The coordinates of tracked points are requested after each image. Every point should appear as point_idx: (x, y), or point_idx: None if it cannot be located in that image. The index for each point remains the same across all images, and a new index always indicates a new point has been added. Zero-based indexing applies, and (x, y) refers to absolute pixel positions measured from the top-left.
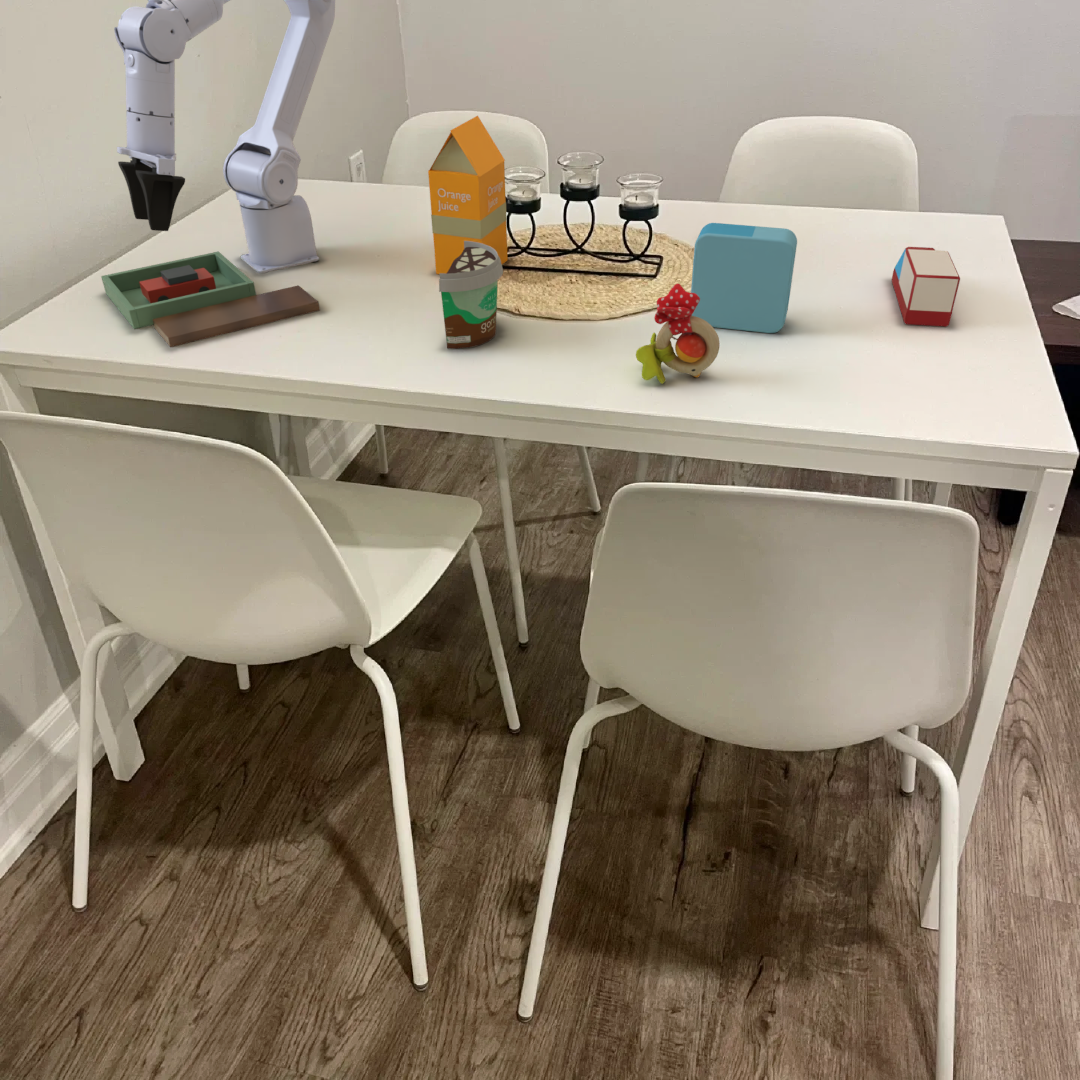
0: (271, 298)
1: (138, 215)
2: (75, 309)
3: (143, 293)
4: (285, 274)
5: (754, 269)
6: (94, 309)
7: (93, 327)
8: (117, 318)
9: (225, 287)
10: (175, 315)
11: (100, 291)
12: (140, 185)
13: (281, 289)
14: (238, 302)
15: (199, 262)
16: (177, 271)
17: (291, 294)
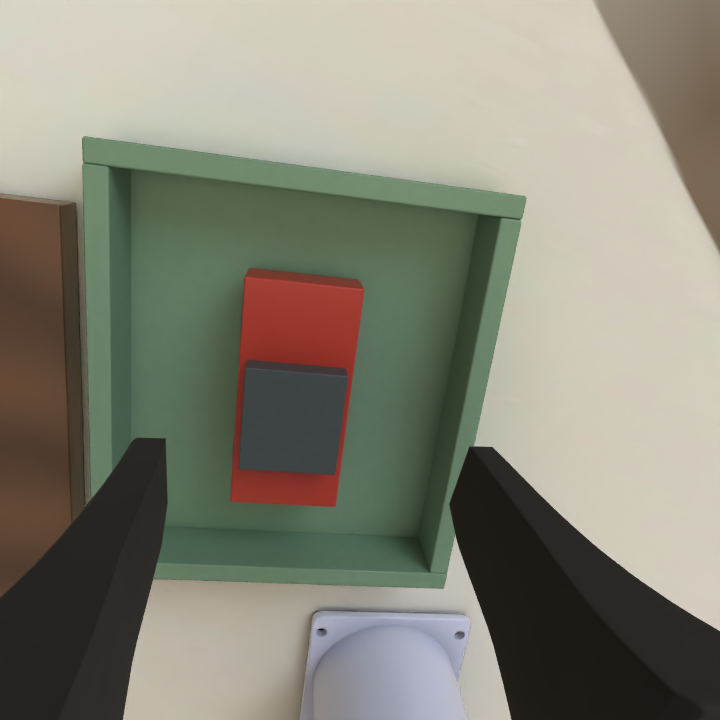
0: (14, 570)
1: (474, 467)
2: (457, 47)
3: (336, 278)
4: (272, 657)
5: None
6: (407, 105)
7: (242, 30)
8: (269, 139)
9: None
10: (45, 284)
11: (550, 191)
12: (540, 629)
13: None
14: (39, 486)
15: (434, 515)
16: (298, 421)
17: None
